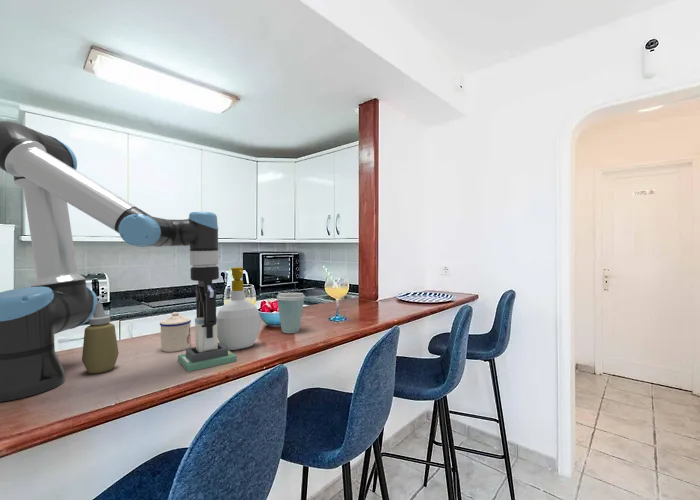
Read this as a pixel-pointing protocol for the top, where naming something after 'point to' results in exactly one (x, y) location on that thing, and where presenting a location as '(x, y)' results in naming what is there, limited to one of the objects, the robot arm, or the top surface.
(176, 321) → the teacup with lid
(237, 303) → the white round bottle
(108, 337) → the squeeze bottle
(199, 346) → the plug
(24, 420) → the top surface
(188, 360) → the header board
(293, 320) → the disposable coffee cup
